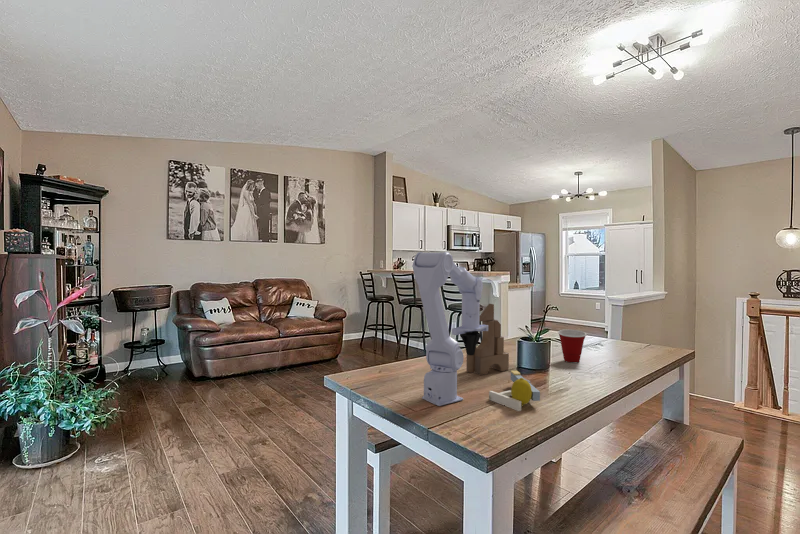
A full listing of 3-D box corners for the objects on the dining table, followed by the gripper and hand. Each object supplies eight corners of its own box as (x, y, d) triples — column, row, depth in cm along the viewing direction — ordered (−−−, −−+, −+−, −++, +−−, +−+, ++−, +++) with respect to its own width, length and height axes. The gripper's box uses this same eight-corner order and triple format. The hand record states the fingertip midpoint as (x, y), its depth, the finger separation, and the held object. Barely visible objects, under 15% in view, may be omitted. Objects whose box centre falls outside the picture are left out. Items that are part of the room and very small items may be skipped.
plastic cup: (558, 363, 162) (558, 333, 162) (556, 357, 173) (556, 328, 172) (588, 365, 159) (588, 334, 159) (584, 359, 169) (584, 330, 169)
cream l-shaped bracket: (518, 411, 111) (518, 402, 111) (488, 399, 121) (489, 391, 120) (539, 404, 116) (540, 396, 116) (509, 394, 126) (509, 385, 125)
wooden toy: (496, 366, 158) (496, 301, 158) (508, 370, 153) (509, 303, 152) (464, 371, 151) (465, 303, 150) (476, 376, 145) (477, 305, 144)
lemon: (518, 410, 112) (519, 381, 111) (507, 403, 117) (507, 375, 117) (535, 408, 113) (536, 380, 113) (523, 401, 119) (524, 374, 118)
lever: (529, 400, 114) (530, 390, 114) (508, 379, 134) (508, 370, 134) (542, 400, 114) (542, 389, 114) (519, 379, 134) (519, 370, 134)
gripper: (462, 316, 127) (462, 360, 127) (495, 313, 135) (495, 354, 135) (447, 314, 133) (447, 355, 133) (479, 310, 141) (479, 350, 141)
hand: (470, 354), depth 134 cm, fingers closed
